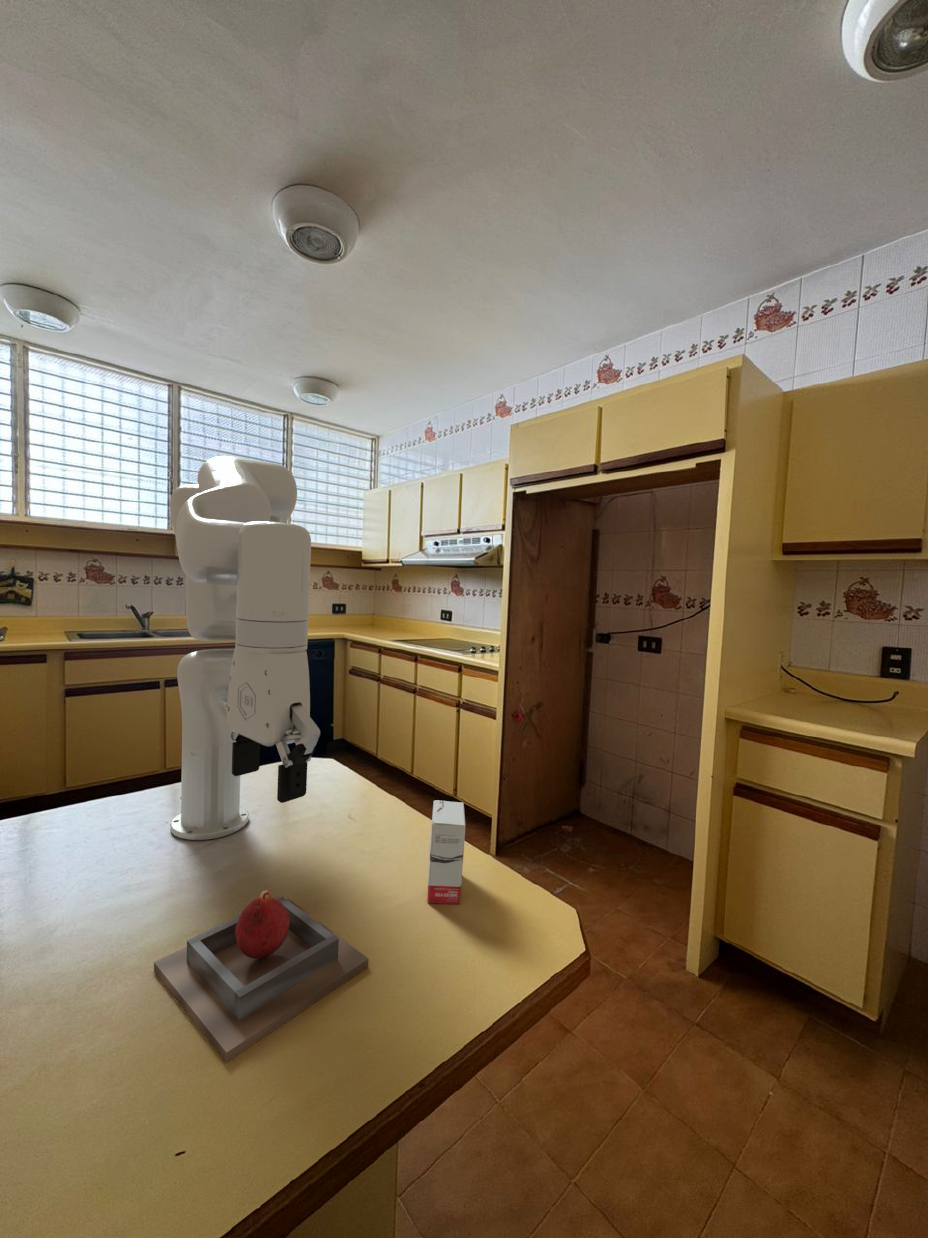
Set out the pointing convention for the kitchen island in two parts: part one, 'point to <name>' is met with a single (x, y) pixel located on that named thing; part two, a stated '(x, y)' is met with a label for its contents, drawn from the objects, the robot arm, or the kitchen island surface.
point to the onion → (262, 927)
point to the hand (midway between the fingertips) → (267, 785)
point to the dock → (256, 979)
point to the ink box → (446, 852)
